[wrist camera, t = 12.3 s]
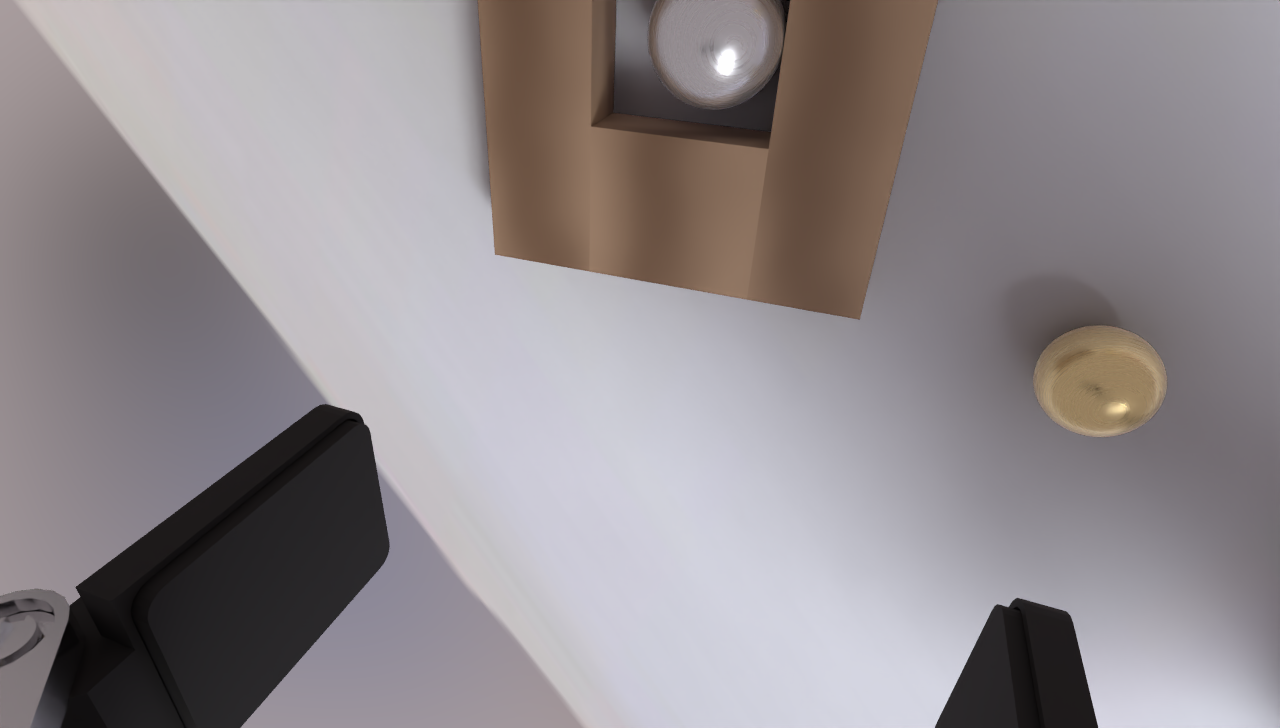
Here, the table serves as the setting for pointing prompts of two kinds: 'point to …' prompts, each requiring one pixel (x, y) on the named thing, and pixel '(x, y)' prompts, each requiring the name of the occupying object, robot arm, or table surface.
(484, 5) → the pocket plate
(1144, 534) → the table surface
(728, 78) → the steel ball
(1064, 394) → the brass ball
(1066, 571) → the table surface
